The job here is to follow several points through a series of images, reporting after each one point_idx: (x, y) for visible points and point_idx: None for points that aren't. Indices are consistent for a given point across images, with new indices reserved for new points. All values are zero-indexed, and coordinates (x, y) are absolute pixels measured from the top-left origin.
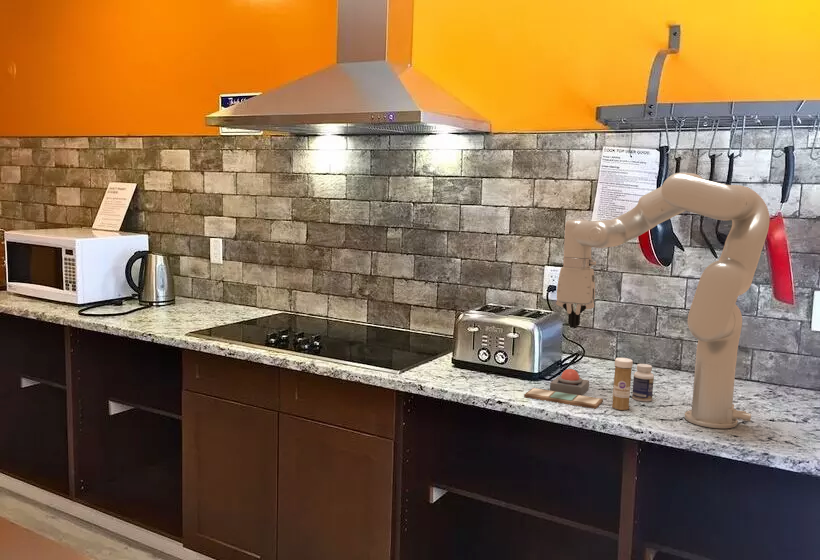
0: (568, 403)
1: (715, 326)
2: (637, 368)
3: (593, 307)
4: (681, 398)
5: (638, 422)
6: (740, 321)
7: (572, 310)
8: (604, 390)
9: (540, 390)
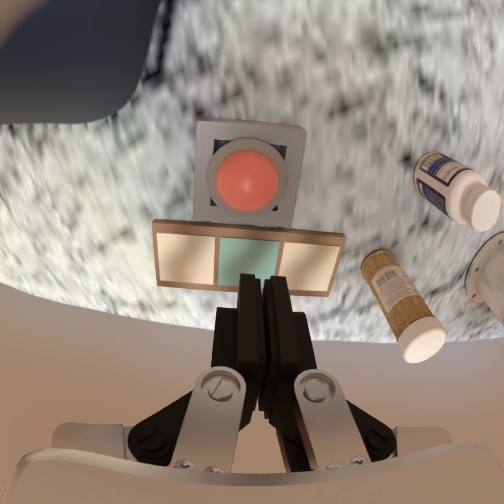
0: None
1: None
2: (465, 215)
3: (439, 435)
4: (497, 138)
5: None
6: None
7: (240, 421)
8: (347, 122)
9: (179, 245)
